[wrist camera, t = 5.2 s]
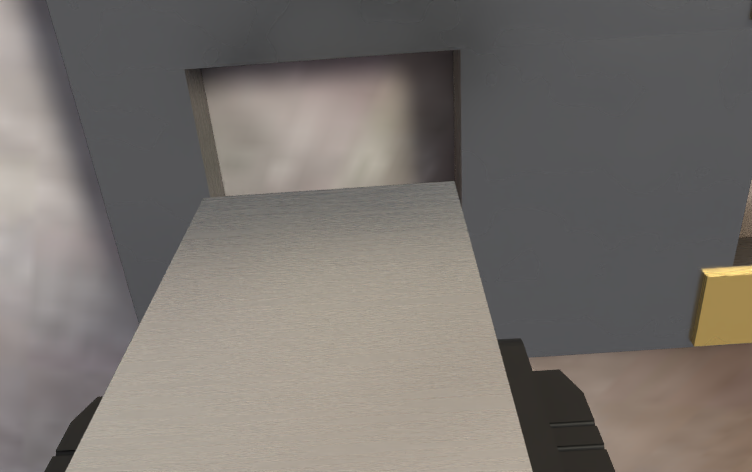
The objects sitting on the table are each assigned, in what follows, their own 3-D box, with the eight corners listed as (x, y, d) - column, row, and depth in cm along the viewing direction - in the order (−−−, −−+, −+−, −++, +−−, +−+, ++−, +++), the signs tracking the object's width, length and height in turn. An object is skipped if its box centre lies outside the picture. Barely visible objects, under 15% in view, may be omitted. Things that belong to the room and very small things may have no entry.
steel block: (454, 180, 12) (572, 622, 5) (457, 377, 14) (542, 879, 7) (203, 198, 12) (-26, 651, 5) (244, 390, 14) (122, 896, 7)
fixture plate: (1181, -140, 15) (1268, -141, 14) (990, 296, 21) (1037, 329, 20) (59, -55, 16) (27, -47, 14) (168, 350, 22) (154, 385, 20)
